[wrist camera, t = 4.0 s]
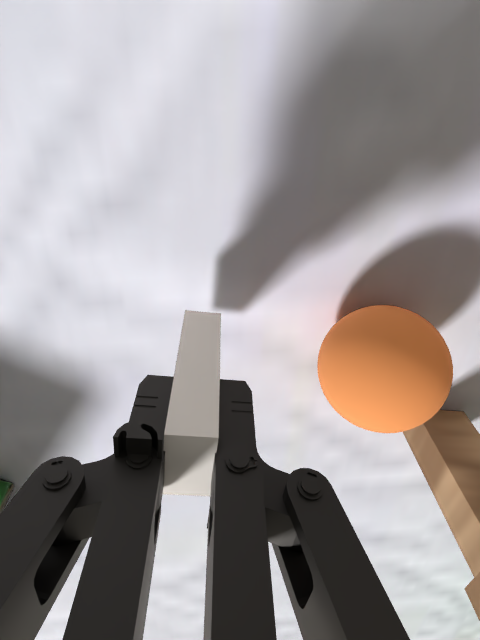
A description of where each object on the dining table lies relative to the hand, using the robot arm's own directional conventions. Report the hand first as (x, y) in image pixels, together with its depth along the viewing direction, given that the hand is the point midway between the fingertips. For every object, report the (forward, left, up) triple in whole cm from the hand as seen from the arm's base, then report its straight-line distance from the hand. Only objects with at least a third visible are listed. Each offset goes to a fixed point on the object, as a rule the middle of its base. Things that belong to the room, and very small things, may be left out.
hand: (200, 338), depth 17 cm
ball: (0, +8, +1) cm, 8 cm away
